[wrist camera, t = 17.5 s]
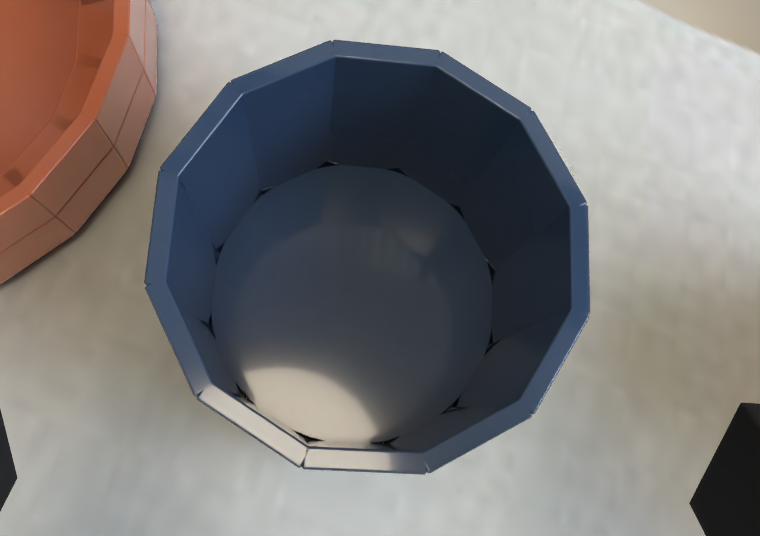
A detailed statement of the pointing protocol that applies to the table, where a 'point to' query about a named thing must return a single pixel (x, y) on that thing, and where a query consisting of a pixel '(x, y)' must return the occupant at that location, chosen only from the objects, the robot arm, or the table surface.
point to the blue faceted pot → (369, 258)
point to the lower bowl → (67, 114)
